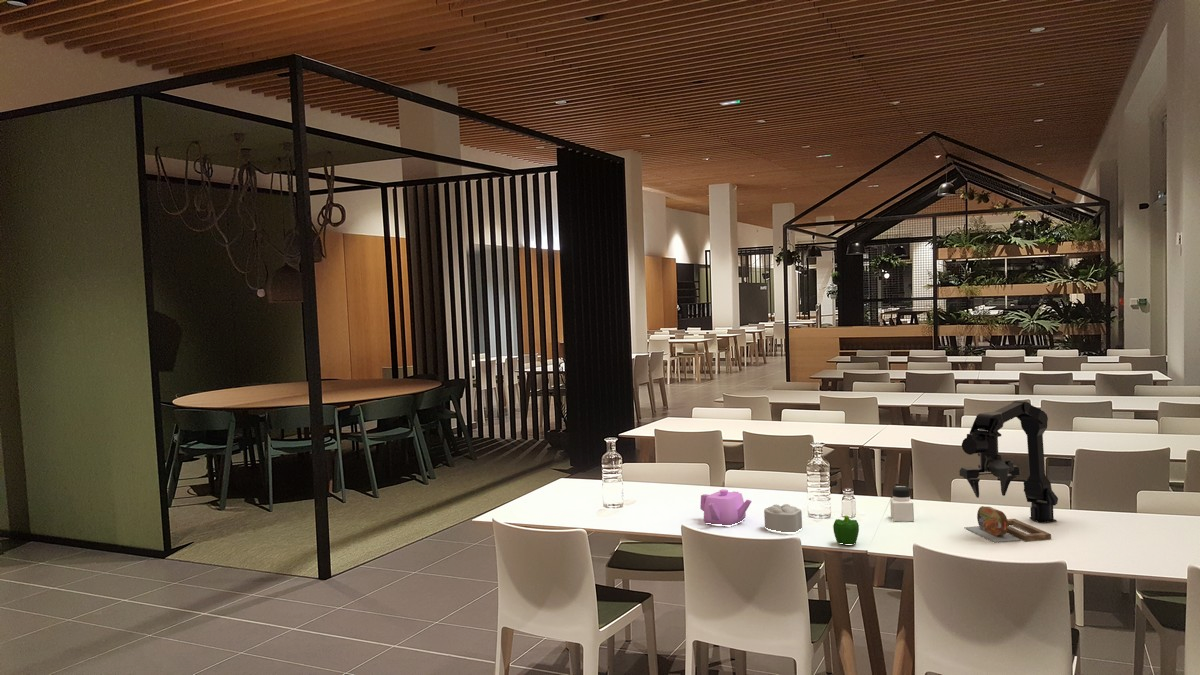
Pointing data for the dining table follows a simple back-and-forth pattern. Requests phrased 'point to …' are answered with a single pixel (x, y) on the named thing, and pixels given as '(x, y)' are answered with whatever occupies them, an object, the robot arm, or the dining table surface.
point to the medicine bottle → (901, 504)
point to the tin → (992, 521)
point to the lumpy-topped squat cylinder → (783, 518)
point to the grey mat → (991, 537)
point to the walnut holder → (1035, 532)
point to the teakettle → (724, 507)
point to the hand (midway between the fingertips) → (990, 496)
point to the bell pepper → (846, 530)
